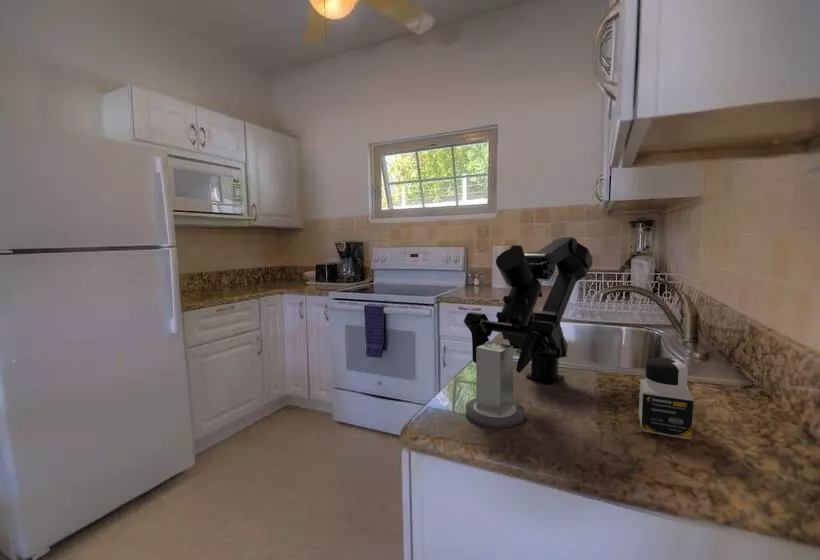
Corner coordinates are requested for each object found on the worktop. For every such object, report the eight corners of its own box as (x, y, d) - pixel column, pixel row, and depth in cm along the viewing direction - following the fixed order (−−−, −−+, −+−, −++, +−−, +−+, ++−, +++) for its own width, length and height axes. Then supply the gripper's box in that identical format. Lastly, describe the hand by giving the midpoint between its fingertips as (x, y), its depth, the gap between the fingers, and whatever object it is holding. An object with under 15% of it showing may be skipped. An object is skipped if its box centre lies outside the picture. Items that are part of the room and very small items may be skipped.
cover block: (489, 400, 77) (489, 341, 76) (512, 406, 74) (513, 346, 73) (476, 408, 73) (476, 347, 72) (500, 416, 70) (500, 352, 69)
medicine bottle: (641, 431, 66) (644, 363, 65) (638, 414, 72) (641, 352, 71) (691, 440, 63) (695, 369, 62) (684, 422, 69) (688, 357, 68)
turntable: (491, 397, 81) (491, 391, 81) (536, 415, 73) (536, 409, 72) (453, 412, 75) (453, 405, 75) (498, 434, 66) (498, 427, 66)
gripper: (576, 328, 79) (555, 398, 72) (494, 318, 91) (469, 376, 84) (562, 295, 72) (538, 368, 65) (476, 289, 84) (448, 349, 77)
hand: (495, 366), depth 73 cm, fingers open, 9 cm apart
